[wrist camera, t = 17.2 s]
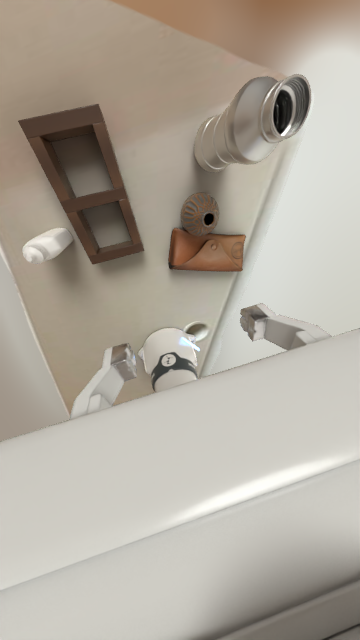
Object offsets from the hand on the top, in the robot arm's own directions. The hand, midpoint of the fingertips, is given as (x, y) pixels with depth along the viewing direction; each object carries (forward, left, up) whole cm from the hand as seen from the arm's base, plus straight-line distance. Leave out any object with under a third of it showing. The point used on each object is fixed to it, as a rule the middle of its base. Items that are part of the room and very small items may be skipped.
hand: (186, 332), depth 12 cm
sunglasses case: (-6, -12, -31) cm, 34 cm away
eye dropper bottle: (+4, +17, -31) cm, 36 cm away
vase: (+2, -10, -31) cm, 33 cm away
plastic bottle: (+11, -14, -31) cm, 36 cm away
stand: (+8, +7, -31) cm, 33 cm away
